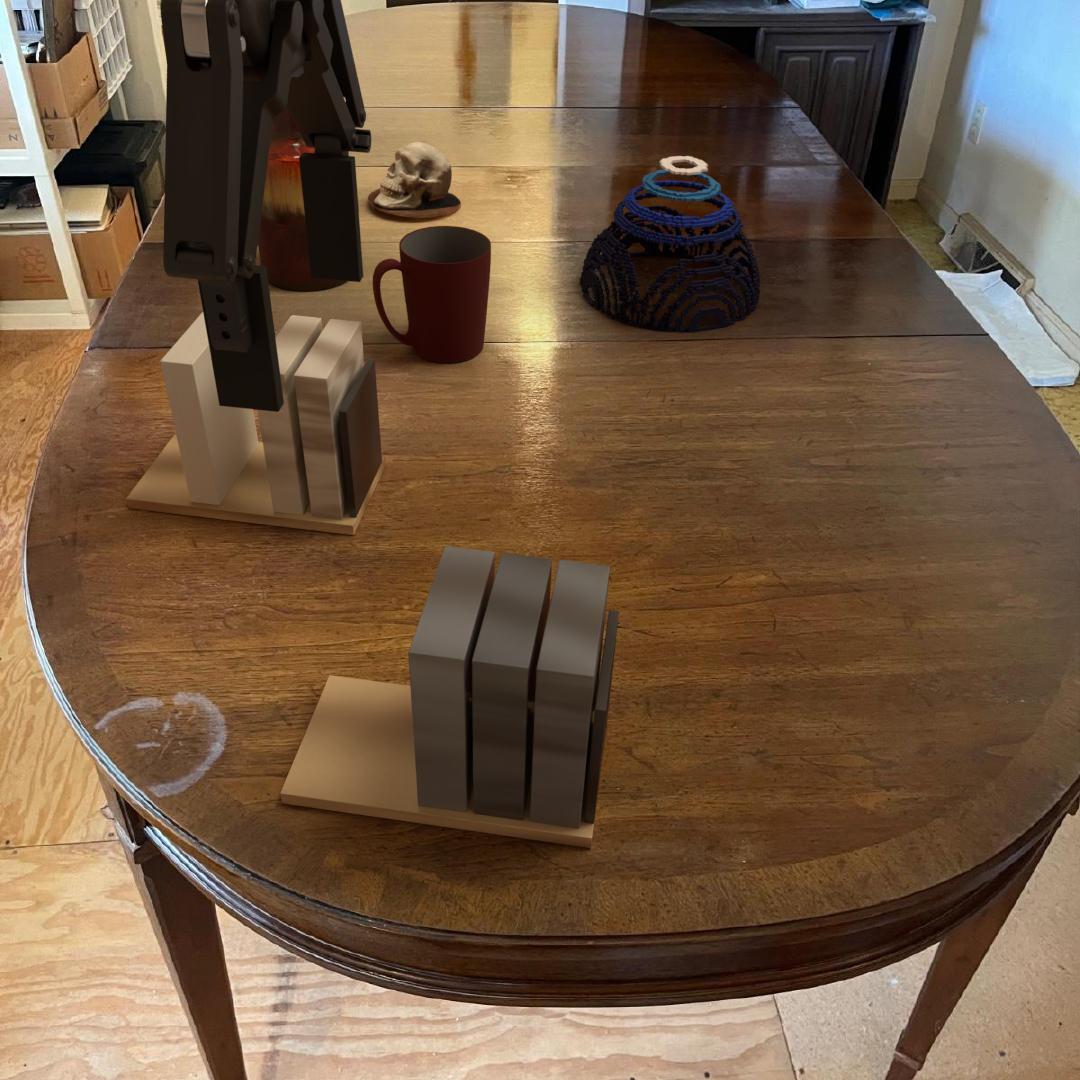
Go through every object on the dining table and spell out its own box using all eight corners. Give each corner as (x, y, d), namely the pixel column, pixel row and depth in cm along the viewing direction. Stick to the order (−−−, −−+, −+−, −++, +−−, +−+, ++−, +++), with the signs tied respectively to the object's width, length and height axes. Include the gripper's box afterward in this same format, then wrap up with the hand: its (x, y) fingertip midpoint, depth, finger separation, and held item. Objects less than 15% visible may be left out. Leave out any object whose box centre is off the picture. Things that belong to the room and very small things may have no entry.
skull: (394, 223, 131) (366, 144, 130) (374, 253, 140) (347, 179, 140) (480, 203, 135) (453, 127, 135) (455, 233, 145) (429, 162, 145)
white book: (220, 505, 86) (192, 364, 78) (190, 502, 86) (159, 360, 78) (258, 444, 93) (237, 308, 85) (231, 441, 93) (207, 305, 85)
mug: (397, 382, 104) (390, 277, 97) (362, 342, 110) (354, 240, 103) (505, 355, 109) (507, 253, 102) (467, 318, 114) (466, 219, 107)
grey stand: (591, 848, 63) (608, 685, 54) (281, 803, 65) (249, 638, 56) (607, 721, 71) (624, 561, 62) (330, 684, 73) (309, 523, 64)
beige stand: (353, 535, 85) (338, 383, 76) (128, 508, 87) (87, 357, 78) (386, 465, 93) (375, 319, 84) (178, 441, 95) (146, 296, 86)
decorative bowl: (555, 263, 126) (560, 140, 117) (706, 244, 132) (722, 126, 123) (622, 342, 112) (634, 208, 102) (788, 317, 117) (813, 188, 108)
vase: (296, 244, 128) (275, 65, 115) (374, 262, 125) (362, 80, 112) (242, 279, 120) (213, 91, 107) (324, 299, 117) (304, 108, 104)
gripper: (212, -139, 29) (294, 486, 43) (413, -200, 49) (427, 242, 62) (-44, -154, 30) (114, 466, 43) (256, -209, 49) (302, 230, 63)
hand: (299, 335), depth 53 cm, fingers open, 13 cm apart
